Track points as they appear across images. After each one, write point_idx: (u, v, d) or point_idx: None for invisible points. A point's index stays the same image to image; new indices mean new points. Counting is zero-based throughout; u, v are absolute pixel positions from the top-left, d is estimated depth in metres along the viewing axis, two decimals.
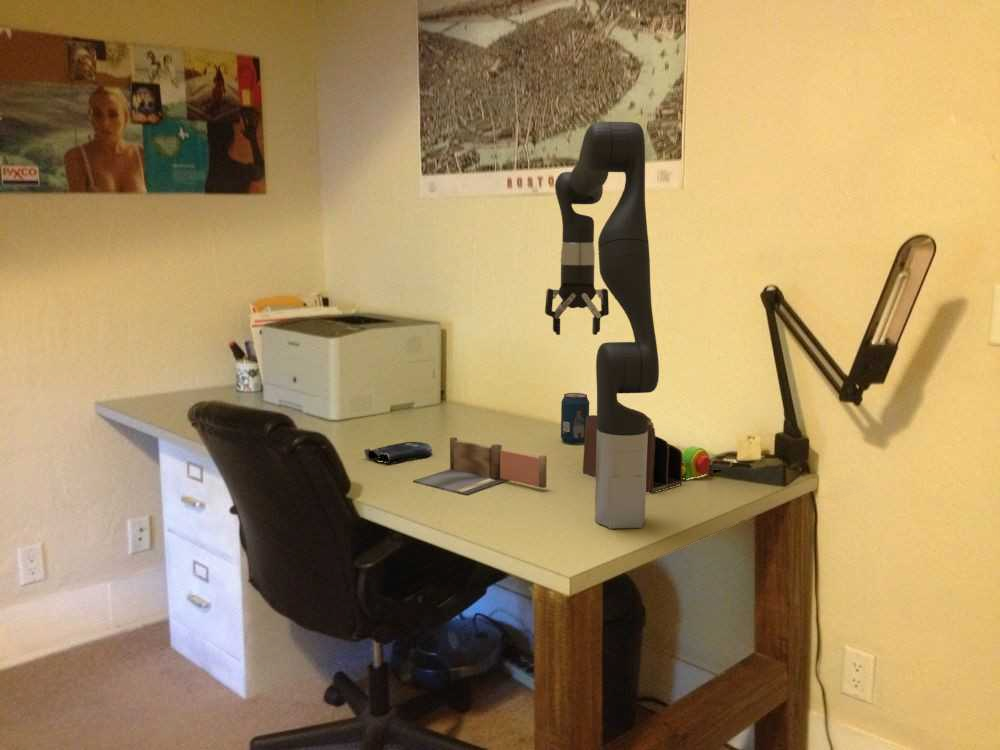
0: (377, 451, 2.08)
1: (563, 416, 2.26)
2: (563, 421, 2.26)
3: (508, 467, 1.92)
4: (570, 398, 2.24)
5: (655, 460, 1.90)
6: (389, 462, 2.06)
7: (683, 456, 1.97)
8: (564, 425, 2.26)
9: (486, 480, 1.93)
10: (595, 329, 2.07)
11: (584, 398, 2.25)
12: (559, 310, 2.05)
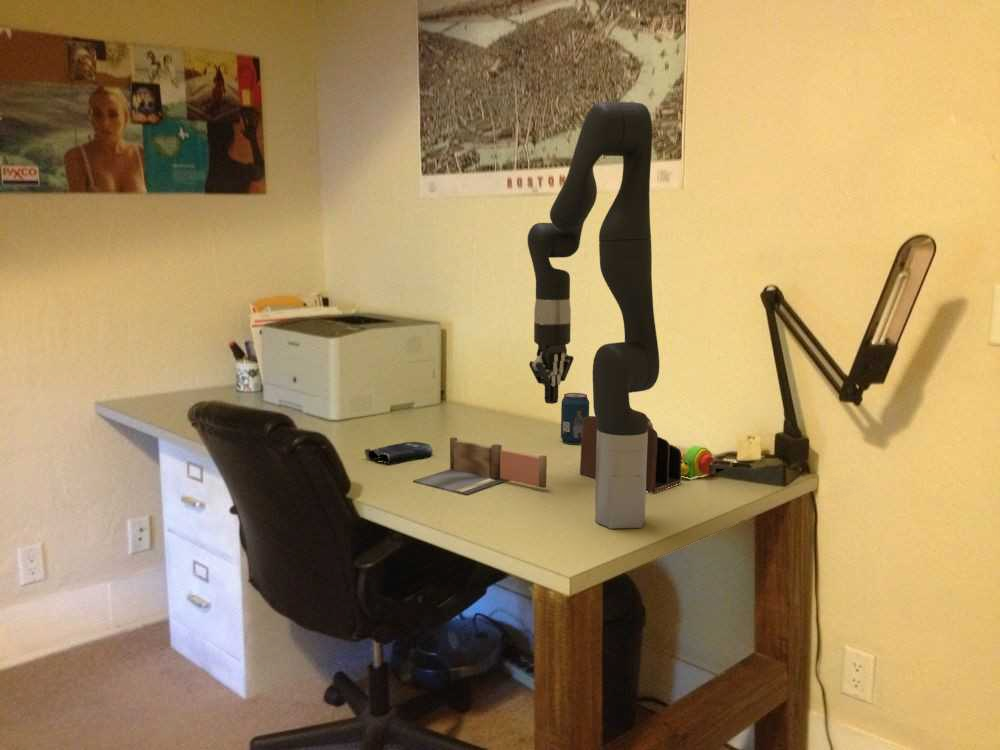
0: (377, 451, 2.08)
1: (563, 416, 2.26)
2: (563, 421, 2.26)
3: (508, 467, 1.92)
4: (570, 398, 2.24)
5: (655, 460, 1.90)
6: (389, 462, 2.06)
7: (686, 455, 1.97)
8: (564, 425, 2.26)
9: (486, 480, 1.93)
10: None
11: (584, 398, 2.25)
12: None
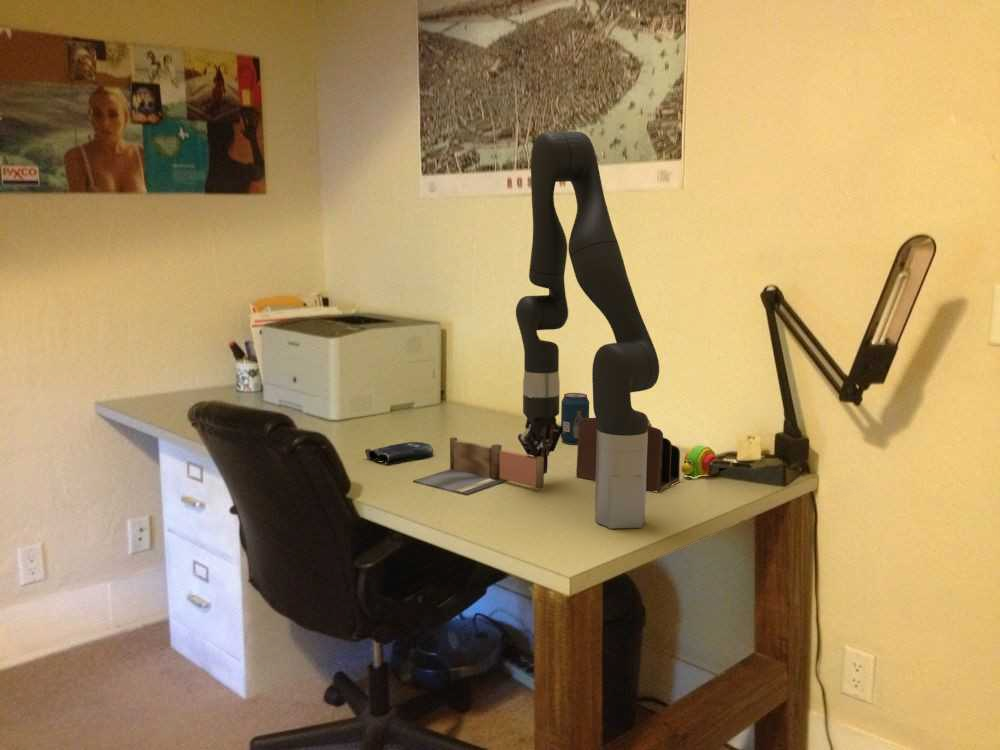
0: (377, 451, 2.08)
1: (563, 416, 2.26)
2: (563, 421, 2.26)
3: (507, 467, 1.92)
4: (570, 398, 2.24)
5: None
6: (388, 462, 2.06)
7: (690, 455, 1.98)
8: (564, 425, 2.26)
9: (486, 480, 1.93)
10: None
11: (584, 398, 2.25)
12: None
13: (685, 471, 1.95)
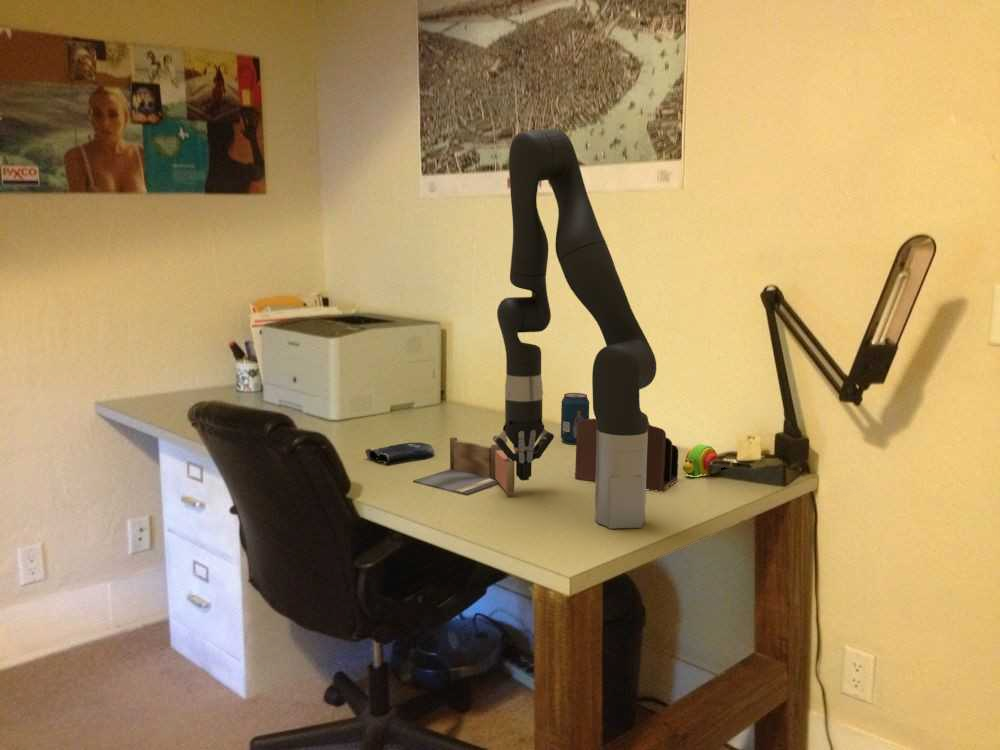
0: (377, 451, 2.08)
1: (563, 416, 2.26)
2: (563, 421, 2.26)
3: (497, 468, 1.91)
4: (570, 398, 2.24)
5: None
6: (388, 462, 2.06)
7: (691, 454, 1.98)
8: (564, 425, 2.26)
9: (486, 480, 1.93)
10: None
11: (584, 398, 2.25)
12: None
13: (686, 470, 1.96)
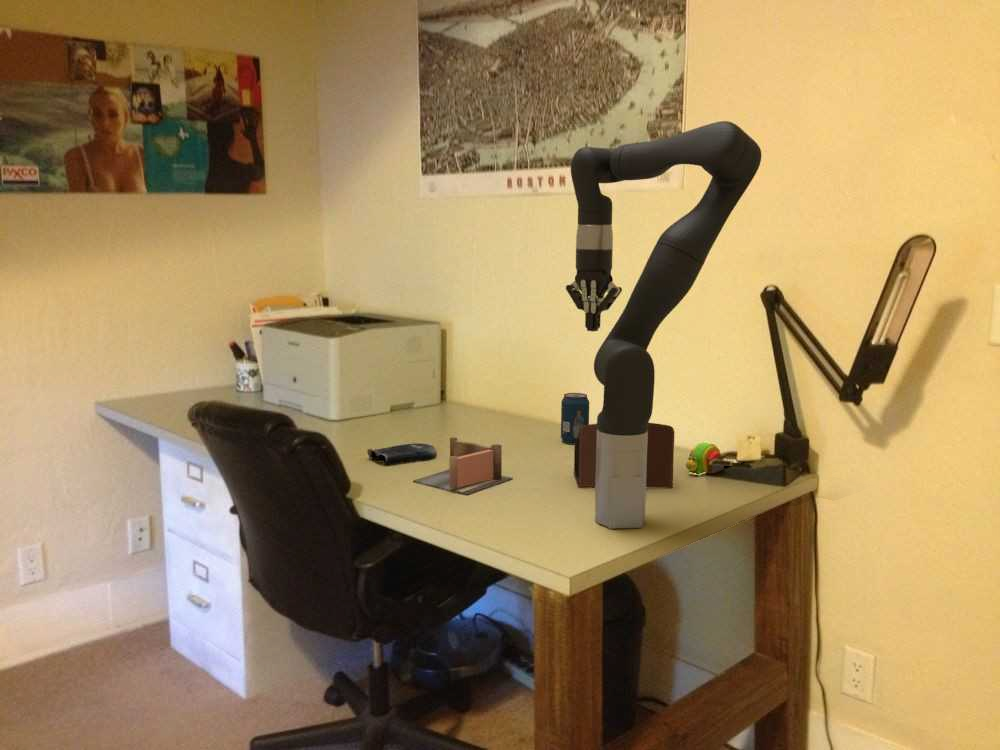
0: (377, 451, 2.08)
1: (563, 416, 2.26)
2: (563, 421, 2.26)
3: None
4: (570, 398, 2.24)
5: None
6: (387, 463, 2.06)
7: (694, 452, 2.00)
8: (564, 425, 2.26)
9: (486, 480, 1.93)
10: None
11: (584, 398, 2.25)
12: None
13: (689, 468, 1.98)
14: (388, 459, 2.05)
